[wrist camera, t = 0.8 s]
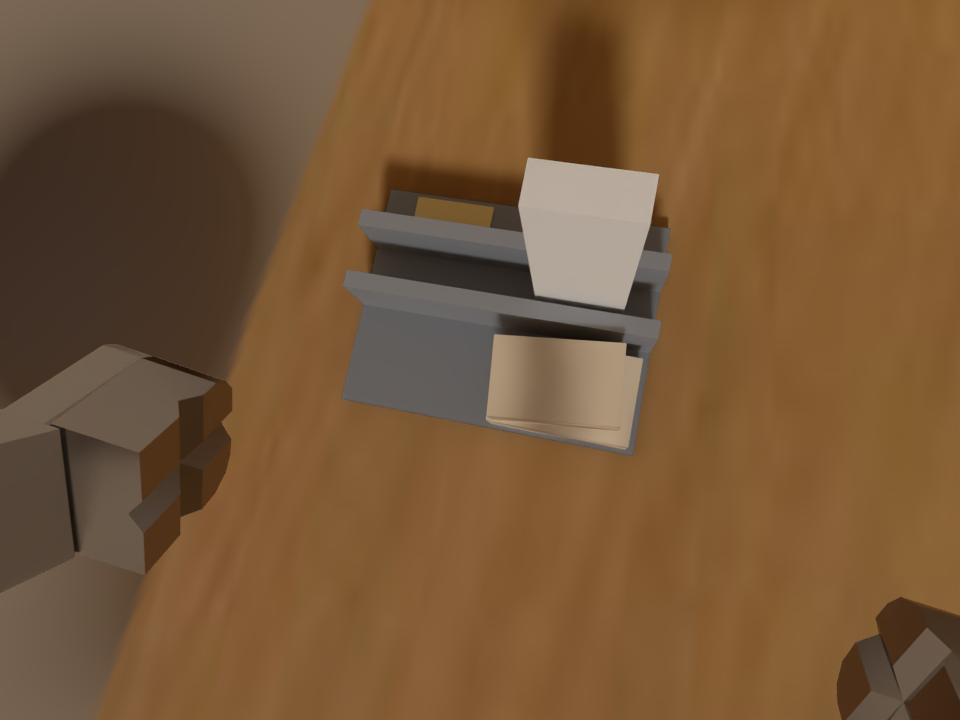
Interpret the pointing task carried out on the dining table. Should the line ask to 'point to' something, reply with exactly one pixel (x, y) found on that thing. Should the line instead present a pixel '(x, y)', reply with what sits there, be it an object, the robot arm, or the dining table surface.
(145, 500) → the robot arm
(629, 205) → the plank
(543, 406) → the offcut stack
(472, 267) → the rack
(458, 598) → the dining table surface
